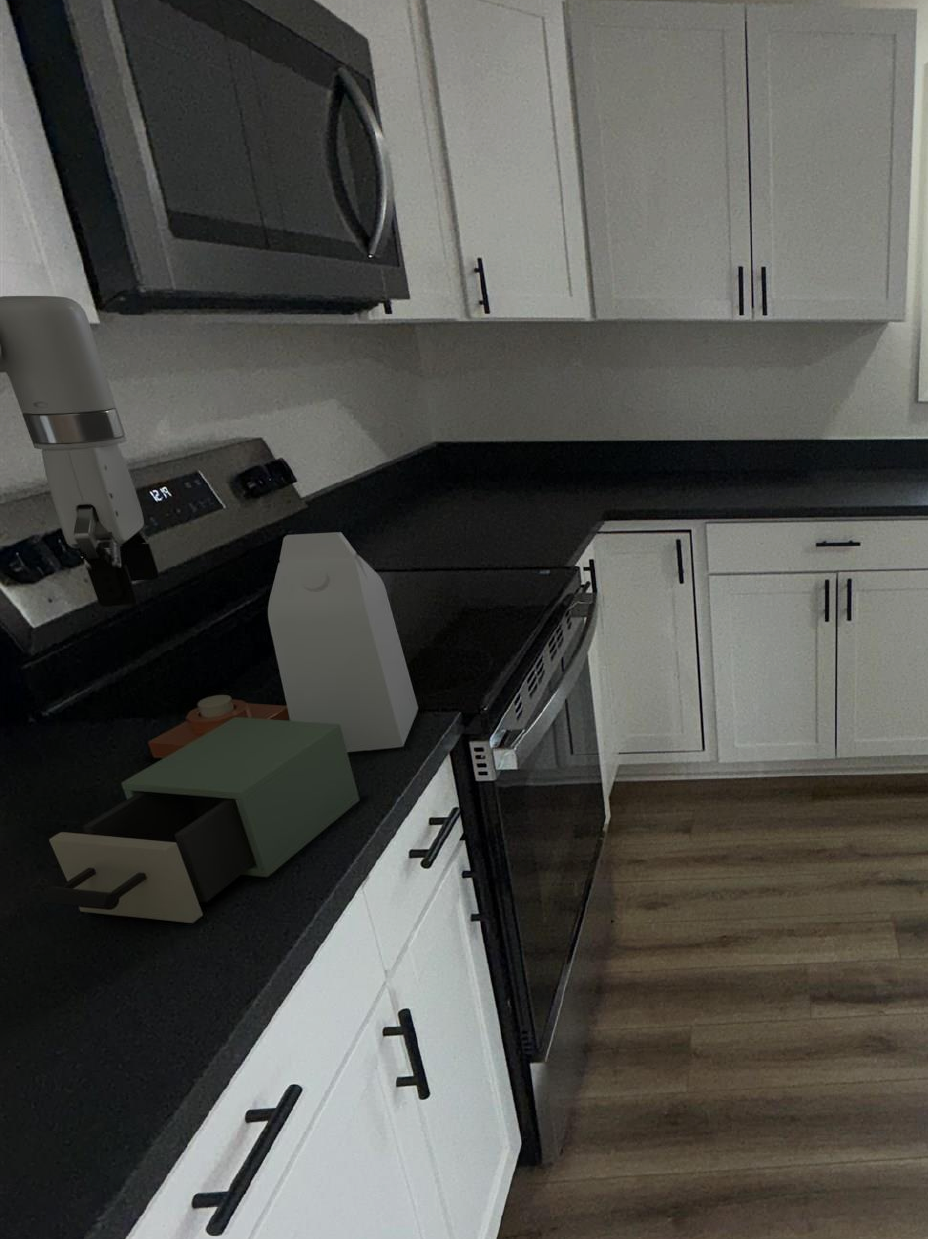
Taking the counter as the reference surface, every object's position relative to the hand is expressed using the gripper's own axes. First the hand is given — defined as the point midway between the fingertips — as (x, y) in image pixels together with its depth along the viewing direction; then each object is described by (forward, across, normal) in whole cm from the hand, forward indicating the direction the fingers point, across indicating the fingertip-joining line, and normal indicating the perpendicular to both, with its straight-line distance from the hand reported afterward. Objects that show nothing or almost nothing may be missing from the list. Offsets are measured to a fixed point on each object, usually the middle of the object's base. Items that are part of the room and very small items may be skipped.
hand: (131, 591), depth 96 cm
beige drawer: (+21, +28, +4) cm, 36 cm away
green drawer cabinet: (+22, +19, +10) cm, 31 cm away
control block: (+22, -8, +2) cm, 23 cm away
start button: (+18, -8, +2) cm, 20 cm away
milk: (+22, -3, +18) cm, 29 cm away
